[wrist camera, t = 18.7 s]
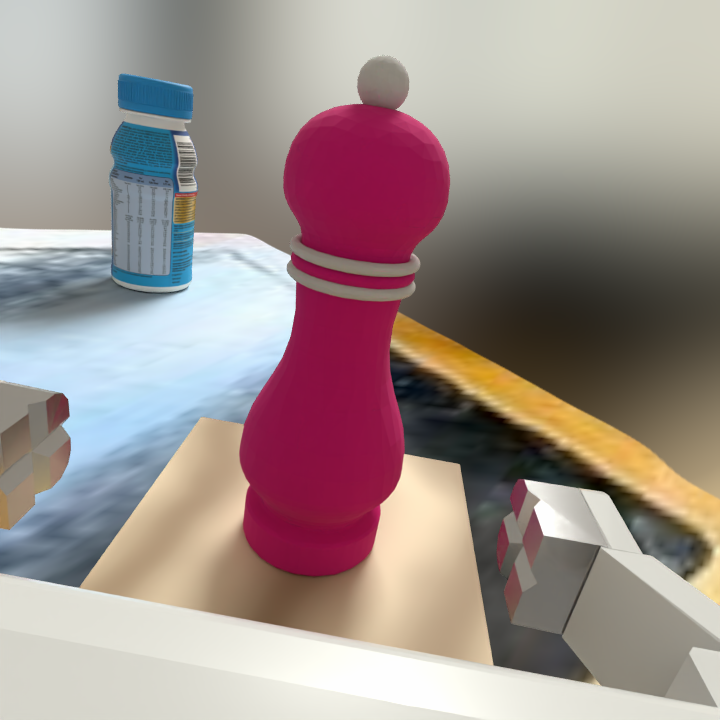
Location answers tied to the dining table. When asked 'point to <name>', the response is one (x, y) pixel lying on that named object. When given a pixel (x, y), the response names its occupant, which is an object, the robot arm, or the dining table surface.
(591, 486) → the dining table surface
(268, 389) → the pepper mill
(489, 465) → the dining table surface
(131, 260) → the beverage bottle
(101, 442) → the dining table surface
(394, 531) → the oak board
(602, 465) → the dining table surface
